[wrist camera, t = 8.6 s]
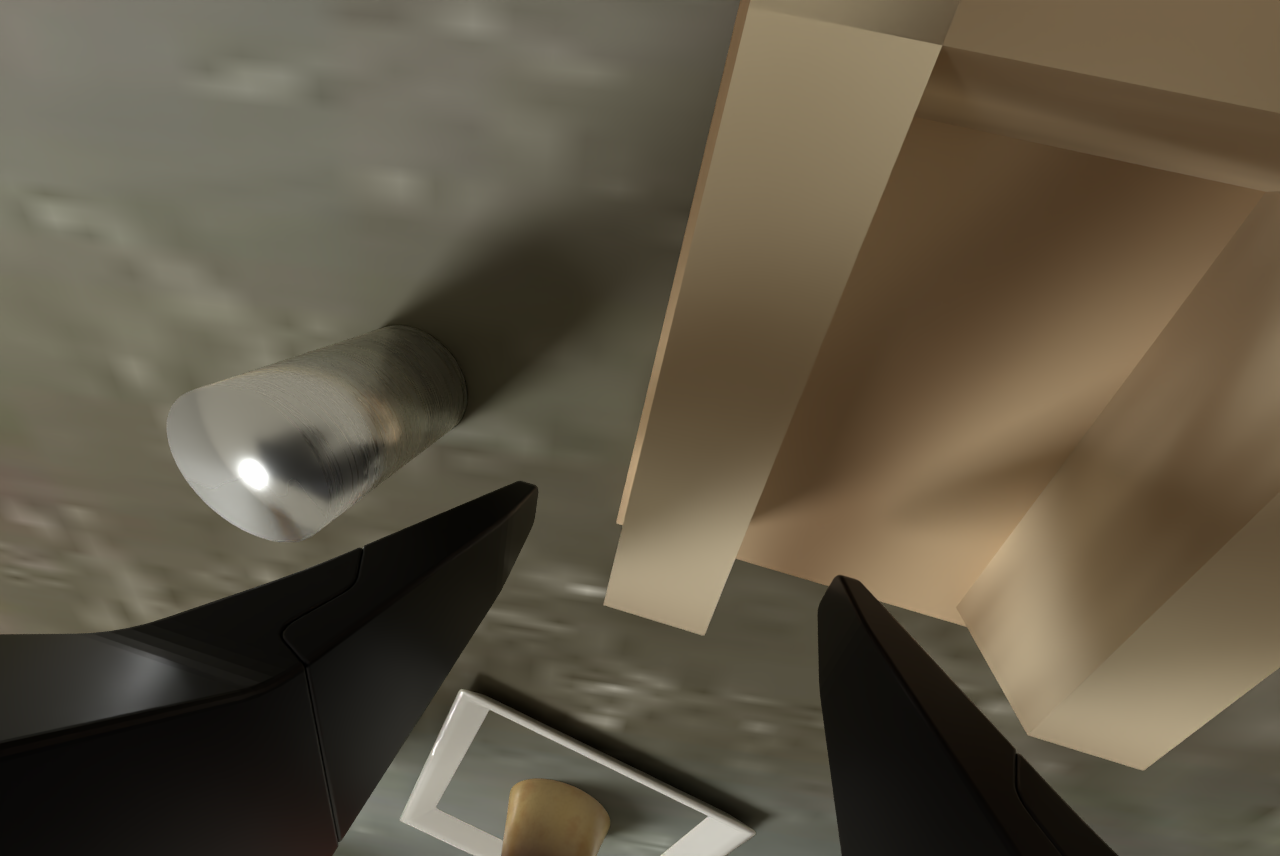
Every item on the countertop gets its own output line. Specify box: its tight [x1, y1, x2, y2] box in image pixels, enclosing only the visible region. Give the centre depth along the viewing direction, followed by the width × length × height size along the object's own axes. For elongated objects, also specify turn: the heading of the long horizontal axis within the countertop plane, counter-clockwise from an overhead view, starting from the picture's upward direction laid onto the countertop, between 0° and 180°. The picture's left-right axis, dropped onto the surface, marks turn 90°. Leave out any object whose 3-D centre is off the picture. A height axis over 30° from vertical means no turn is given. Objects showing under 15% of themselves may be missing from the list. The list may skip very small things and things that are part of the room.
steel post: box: [167, 325, 467, 542], centre depth 10 cm, size 3×3×4 cm
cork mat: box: [616, 0, 1265, 627], centre depth 9 cm, size 11×12×1 cm
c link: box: [604, 0, 1280, 771], centre depth 7 cm, size 11×10×3 cm
